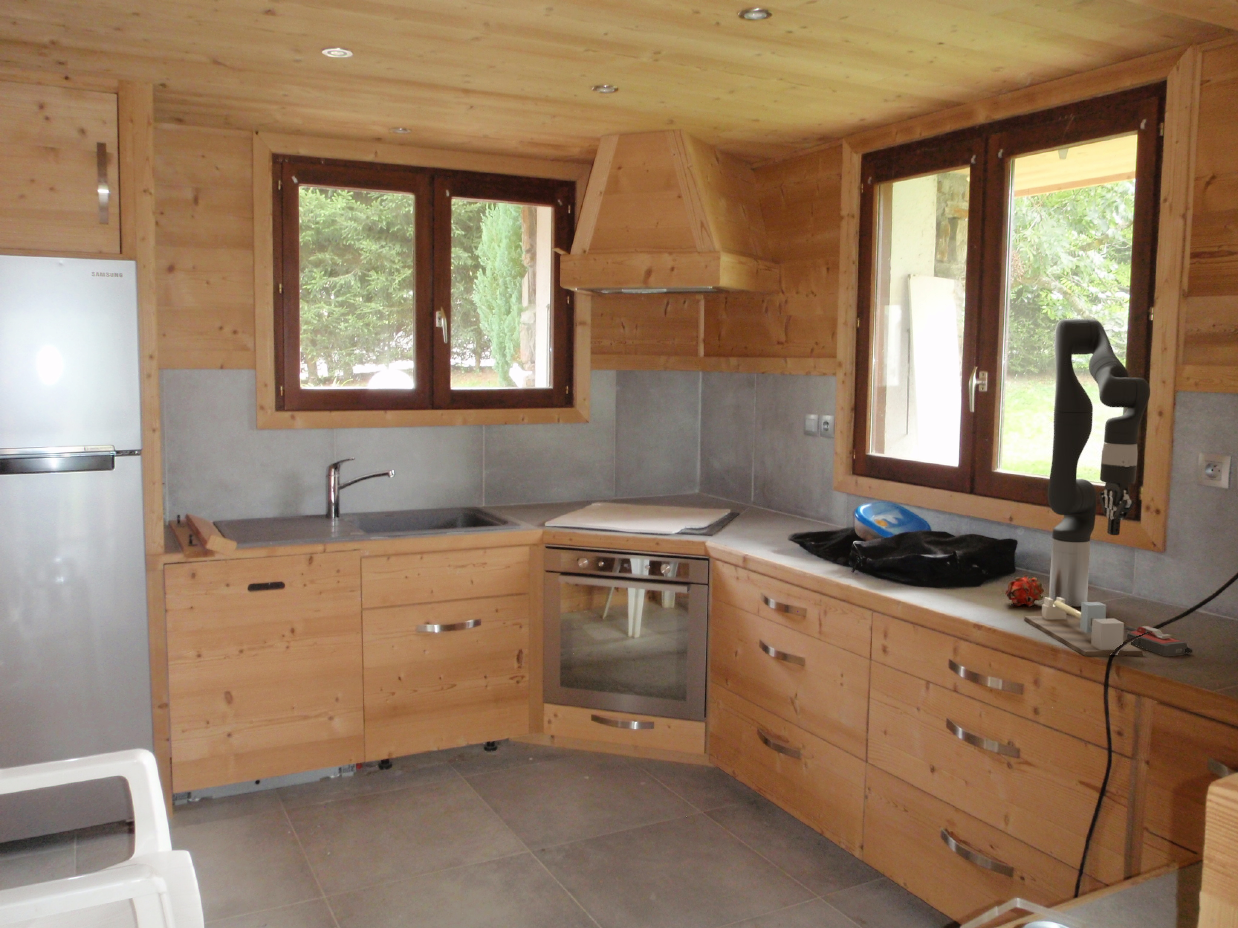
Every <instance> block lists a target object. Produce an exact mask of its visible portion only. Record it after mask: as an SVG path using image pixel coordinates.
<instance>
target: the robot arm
mask: <svg viewBox="0 0 1238 928" xmlns="http://www.w3.org/2000/svg"><path fill="white" fill-rule="evenodd" d="M1090 354H1091V357H1090V358H1089V362H1088V371H1089V374H1090V375H1091V377H1092V378H1093V380H1094V381H1095V382H1096V384H1097V387H1098V393H1099V400H1100V402H1101V403H1102V404H1103V405H1104V406H1105V407H1109V408H1127V409H1126V411H1125V412H1124V413H1123V414H1122V415H1119V416H1116V417H1111V418H1108V419H1107V420H1106V421H1105V424H1104V425H1105V426H1104V439H1103V447H1102V450H1101V459H1100V461H1101V463H1100V473H1099V474H1100V475H1099V480H1100V481H1101V483H1102V482H1103V483H1105V484H1104V486H1103V487H1104V490H1103V491H1099V492H1098V496H1097V492H1096V488H1095V486H1094V484H1092V483H1091V482H1090V481H1089V480H1087V479H1083V478H1077V472H1078V471H1077V470H1078V463H1079V460H1080V457H1081V455H1082V453H1083V451H1084V448H1085V447H1086V446H1087V443H1088V441H1089V438H1090V436H1091V433H1092V430H1093V414H1094V413H1093V412H1094V409H1093V408H1094V407H1093V402H1092V401H1091V398H1090V396H1089V395H1088V393H1087V392H1086V390H1085V389H1084V387H1083V385H1082V384H1081V382H1080V380H1079V379H1078V377H1077V375H1076V373H1075V370H1074V366H1073V359H1072V356H1073V355H1078V356H1079V355H1083V356H1084V355H1090ZM1054 362H1055V363H1054V364H1055V389H1054V390H1055V393H1054V394H1055V395H1054V406H1053V407H1054V408H1053V411H1054V412H1053V439H1052V440H1053V442H1052V458H1051V466H1050V475H1049V480H1048V481H1049V482H1048V487H1047V501H1048V504H1049V507H1050V510H1052V512H1053V513H1055V514H1056V515H1059V516H1063V518H1062V520H1061V521H1060V522H1059V523H1058V524H1057V525H1056V526H1054V527H1053V528H1052V534H1051V535H1052V536H1051V537H1052V539H1051V558H1050V560H1051V561H1050V572H1049V590H1048V591H1049V592H1048V597H1049V598H1051V599H1053V604H1054V602H1055V601H1056V597H1061V598H1063V599H1065V604H1066V605H1068V606H1070V607H1081V603H1082V602H1088V592H1089V591H1088V589H1089V588H1088V587H1089V574H1090V573H1089V570H1090V556H1091V555H1090V553H1091V552H1090V549H1091V535H1092V534H1093V531H1094V529H1095V525H1096V524H1095V523H1096V514H1097V503H1098V502H1097V501H1098V498H1099V502H1100V505H1101V509H1102V513H1103V515H1106V518H1107V520H1108V521H1107V530H1106V531H1107V534H1108V535H1110V536H1119V535H1120V532H1121V520H1122V521H1123V519H1127V518H1128V516H1129V514H1130V513H1131V511H1132V509H1133V507H1134V506H1135V499H1131V498H1130V493H1131V492H1130V485H1133V484H1136V478H1137V466H1138V456H1139V455H1138V453H1139V452H1138V437H1139V429H1140V424H1141V421H1142V418H1143V416H1144V412H1145V410H1146V407H1147V406H1148V402H1149V400H1150V397H1151V387H1150V384H1149V382H1148V381H1147V380H1146V379H1145V378H1142V377H1130V375H1129V371H1128V369H1127V368H1126V367H1125V366H1124V364H1123V363H1122V362H1121V361H1120V359H1119V358H1118V357H1117V356H1116V353H1115V351H1114V349H1113V347H1112V344H1111V341H1110V339H1109V336H1108V335H1107V332H1106V330H1105V328H1104V326H1103V325H1102V323H1101V322H1100V321H1099V320H1098V319H1095V318H1094V319H1093V318H1064V319H1063V318H1062V319H1060V320H1059V321H1058V322H1057V324H1056V326H1055V331H1054Z"/></svg>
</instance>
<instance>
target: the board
mask: <svg viewBox="0 0 1238 928" xmlns="http://www.w3.org/2000/svg"><path fill="white" fill-rule="evenodd" d="M1023 620H1024V621H1026V622H1027V623H1029V624H1030V625H1031V626H1033V627H1035V628H1037V629H1038V630H1040V631H1042V632H1043V633H1045V634H1046V635H1048V636H1050V637H1052V638H1053V639H1055V640H1057V641H1058V642H1060V643H1062V644H1064V645H1065V646H1067V647H1069V648H1071V649H1073V650H1074V651H1075V650H1076V652H1077V653H1079V654H1080V655H1082V656H1083V657H1101V656H1102V657H1104V656H1105V657H1107V656H1108V657H1109V655H1110V654H1111V653H1113V652H1114V650H1099V649H1098V648H1096V647H1094V646H1092V645H1091V638H1092V633H1086V632H1084V631H1082V630H1080V623H1081V620H1080V619H1078V618H1076V617H1075V616H1073V615H1066V619H1048V620H1046V619H1044V618H1043V617H1042V615H1040V616H1039V615H1035V616H1033V615H1028V616H1026V615H1025V616H1024V618H1023ZM1091 626H1092V625H1091ZM1124 641H1125V640H1123V642H1124ZM1143 653H1144V650H1143V649H1141V648H1139V647H1137V646H1134V645H1131V644H1127V645H1126V646H1125V647H1124V648H1123V650H1120V651H1119V653H1118V657H1119V655H1127V656H1143Z"/></svg>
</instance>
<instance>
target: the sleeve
mask: <svg viewBox="0 0 1238 928" xmlns="http://www.w3.org/2000/svg"><path fill="white" fill-rule="evenodd" d="M1080 609H1081V610H1080V612H1081V623H1080V630H1082V631H1084V632H1086V633H1092V626H1091V618H1093V619H1107V618H1106V617H1107V615H1106V614H1107V605H1106V604H1105V603H1102V602H1100V601H1087V602H1082V603H1081V606H1080Z"/></svg>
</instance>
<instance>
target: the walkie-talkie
mask: <svg viewBox="0 0 1238 928" xmlns="http://www.w3.org/2000/svg"><path fill="white" fill-rule="evenodd" d="M1124 629H1125V630H1126V631H1127V632H1126V641H1127V640H1128V639H1131V638H1134V637H1136V636H1139V635H1142V634H1144V633H1147V632H1150V633H1148V634H1145V635H1143V636H1141V637H1140V638H1138V639H1135V640H1134V641H1133V642H1131V644H1133V645H1132V646H1134V645H1137V646H1139V647H1138V648H1140V647H1143V648H1144V649H1143V648H1142V649H1143V650H1146V649H1147V650H1146V651H1149V650H1150V651H1149V652H1151V653H1154V654H1157V653H1158V655H1160V656H1163V655H1164V656H1163V657H1173V656H1181V655H1183V656H1184V655H1187V654H1191V653H1193V651H1194V650H1193V648H1190V647H1188V643H1187V642H1185V641H1182V640H1178V639H1175V638H1172V635H1171V634H1167V633H1166V634H1164V633H1163V632H1162V631H1161V629H1159V628H1158V629H1157V628H1155V627H1152V626H1148V625H1143V626H1138V627H1137V628H1135V627H1132V626H1129V625H1126V626H1124ZM1131 644H1130V645H1131ZM1137 646H1136V647H1137Z"/></svg>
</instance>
